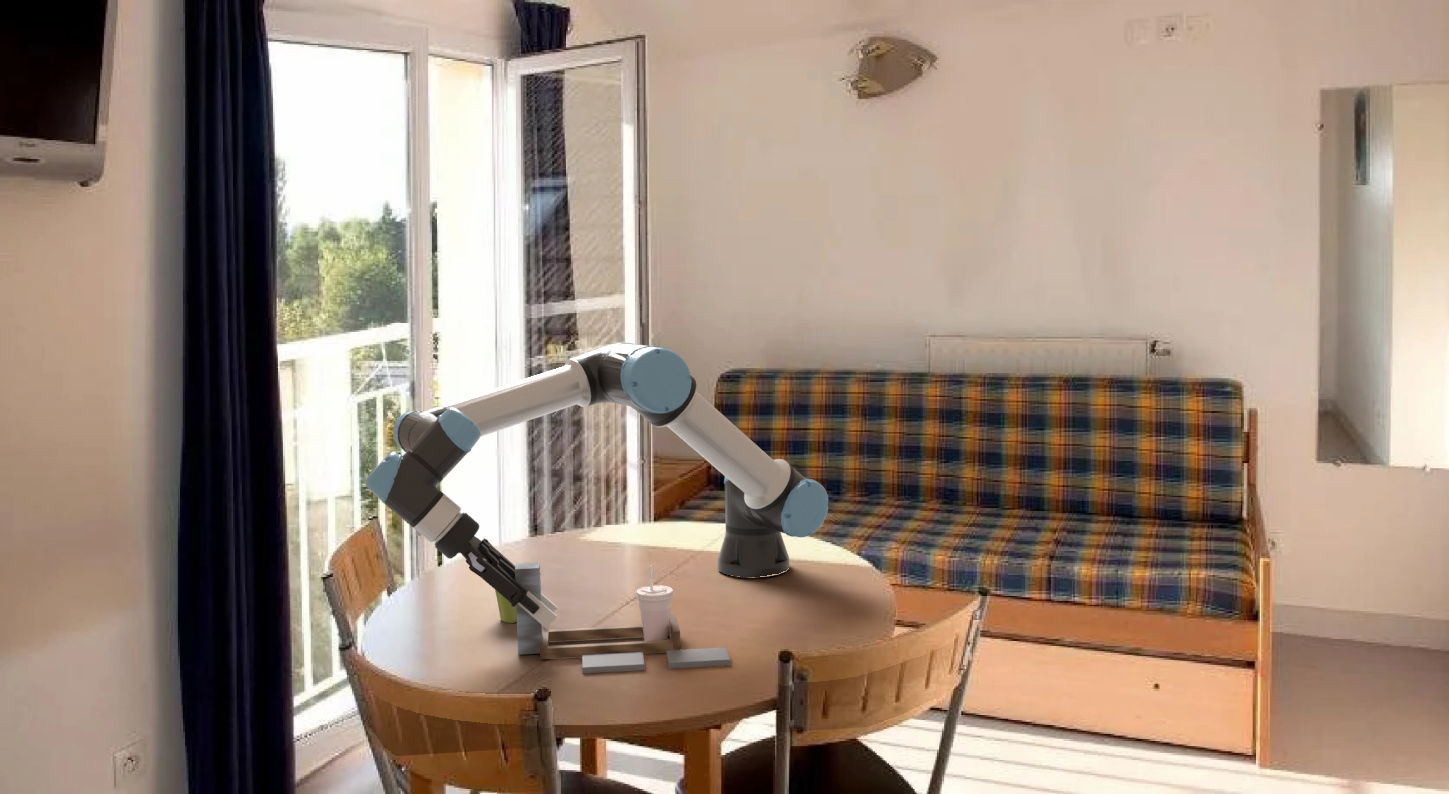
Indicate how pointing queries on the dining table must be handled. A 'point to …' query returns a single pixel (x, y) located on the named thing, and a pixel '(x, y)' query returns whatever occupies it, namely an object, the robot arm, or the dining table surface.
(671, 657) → the broken strip
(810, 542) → the dining table surface
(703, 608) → the dining table surface
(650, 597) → the smoothie
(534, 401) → the robot arm
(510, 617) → the plant pot
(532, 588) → the sled
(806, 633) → the dining table surface
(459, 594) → the dining table surface
